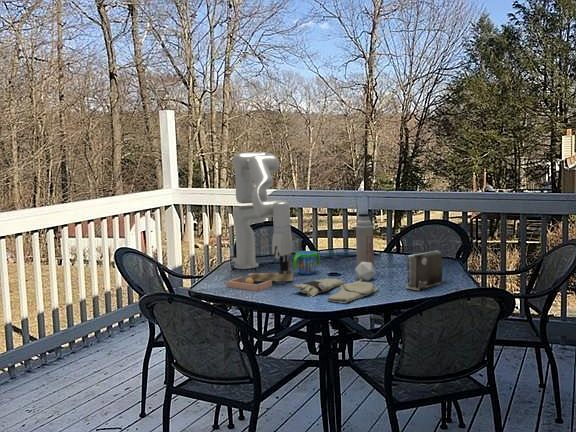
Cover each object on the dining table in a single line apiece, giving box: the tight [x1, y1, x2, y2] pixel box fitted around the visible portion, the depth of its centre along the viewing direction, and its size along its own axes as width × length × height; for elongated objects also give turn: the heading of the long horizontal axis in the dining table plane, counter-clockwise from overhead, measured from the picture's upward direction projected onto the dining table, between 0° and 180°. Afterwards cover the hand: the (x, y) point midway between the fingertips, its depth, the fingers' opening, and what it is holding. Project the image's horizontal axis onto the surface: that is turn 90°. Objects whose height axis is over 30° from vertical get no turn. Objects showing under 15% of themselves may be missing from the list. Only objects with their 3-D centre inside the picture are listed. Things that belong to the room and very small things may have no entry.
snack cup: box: [292, 250, 321, 275], centre depth 272 cm, size 16×10×10 cm
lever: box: [247, 259, 294, 282], centre depth 257 cm, size 20×3×9 cm, turn 83°
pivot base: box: [274, 281, 289, 284], centre depth 257 cm, size 6×6×1 cm
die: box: [354, 262, 377, 282], centre depth 255 cm, size 8×9×10 cm
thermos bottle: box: [355, 213, 375, 268], centre depth 267 cm, size 8×8×28 cm
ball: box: [244, 277, 255, 284], centre depth 252 cm, size 4×4×4 cm
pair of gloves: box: [291, 278, 379, 304], centre depth 234 cm, size 30×26×5 cm
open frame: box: [226, 276, 273, 292], centre depth 251 cm, size 17×10×2 cm, turn 56°
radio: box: [405, 249, 444, 291], centre depth 240 cm, size 23×9×15 cm, turn 129°
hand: (284, 270), depth 253 cm, fingers closed
